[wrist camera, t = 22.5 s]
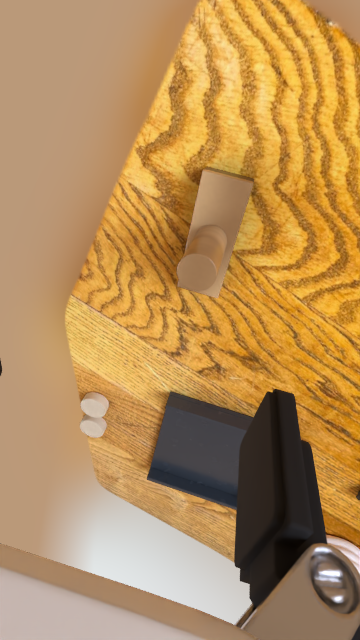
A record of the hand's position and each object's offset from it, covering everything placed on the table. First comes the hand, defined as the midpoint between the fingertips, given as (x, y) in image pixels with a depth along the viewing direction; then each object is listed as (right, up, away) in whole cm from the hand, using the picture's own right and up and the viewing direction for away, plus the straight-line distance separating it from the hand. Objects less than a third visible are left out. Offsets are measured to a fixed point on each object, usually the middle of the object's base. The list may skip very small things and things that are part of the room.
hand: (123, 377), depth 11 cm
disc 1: (-8, -8, +29) cm, 31 cm away
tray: (+6, -14, +29) cm, 33 cm away
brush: (+5, +9, +15) cm, 18 cm away
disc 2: (-9, -11, +31) cm, 34 cm away
